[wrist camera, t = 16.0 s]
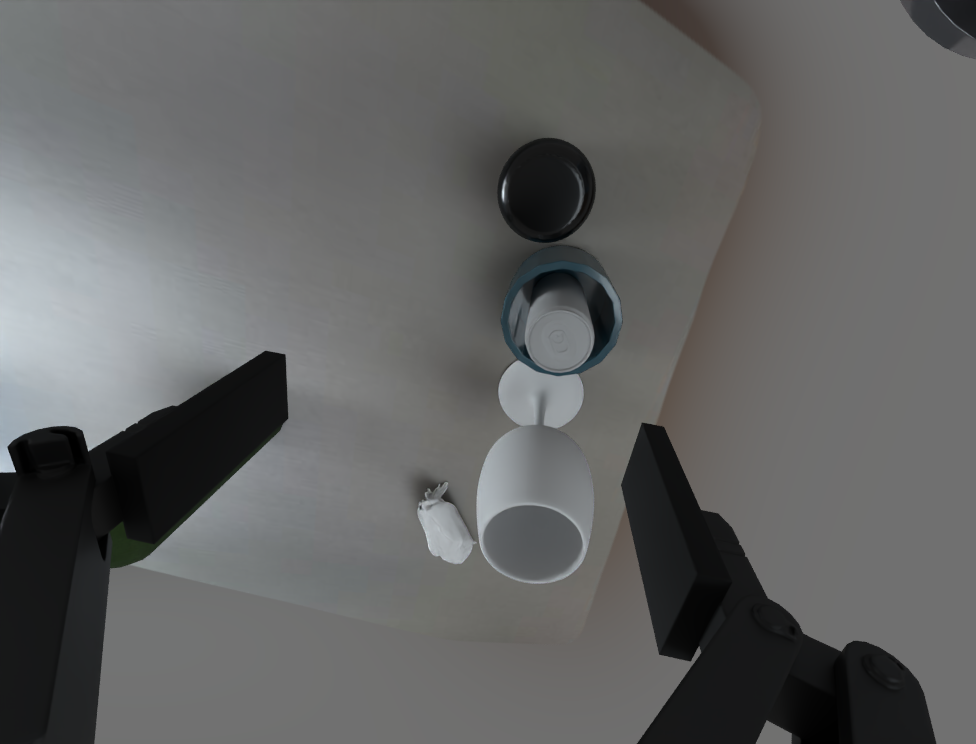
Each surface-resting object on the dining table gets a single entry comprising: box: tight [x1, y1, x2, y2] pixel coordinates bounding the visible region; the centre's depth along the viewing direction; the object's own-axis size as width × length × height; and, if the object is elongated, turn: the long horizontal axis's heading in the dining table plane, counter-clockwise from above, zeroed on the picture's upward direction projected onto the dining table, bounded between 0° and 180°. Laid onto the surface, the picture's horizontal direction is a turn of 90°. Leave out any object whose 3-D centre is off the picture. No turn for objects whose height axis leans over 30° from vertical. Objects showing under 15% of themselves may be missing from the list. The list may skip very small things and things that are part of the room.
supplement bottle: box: [497, 138, 596, 243], centre depth 33 cm, size 7×7×12 cm
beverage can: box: [525, 273, 595, 373], centre depth 36 cm, size 5×5×12 cm
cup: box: [501, 246, 623, 376], centre depth 39 cm, size 9×9×8 cm
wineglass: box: [477, 360, 594, 584], centre depth 37 cm, size 9×9×21 cm
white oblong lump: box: [417, 482, 477, 564], centre depth 52 cm, size 5×7×10 cm
